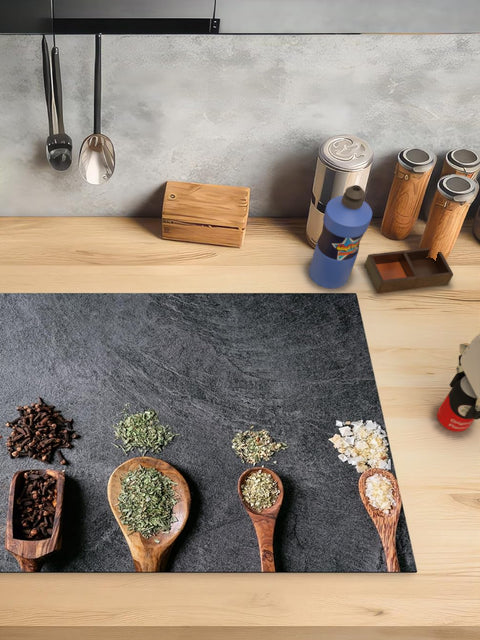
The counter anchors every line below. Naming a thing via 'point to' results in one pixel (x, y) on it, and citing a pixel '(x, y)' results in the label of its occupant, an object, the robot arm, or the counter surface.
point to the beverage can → (457, 406)
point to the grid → (407, 270)
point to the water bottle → (340, 238)
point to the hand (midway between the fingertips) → (465, 400)
